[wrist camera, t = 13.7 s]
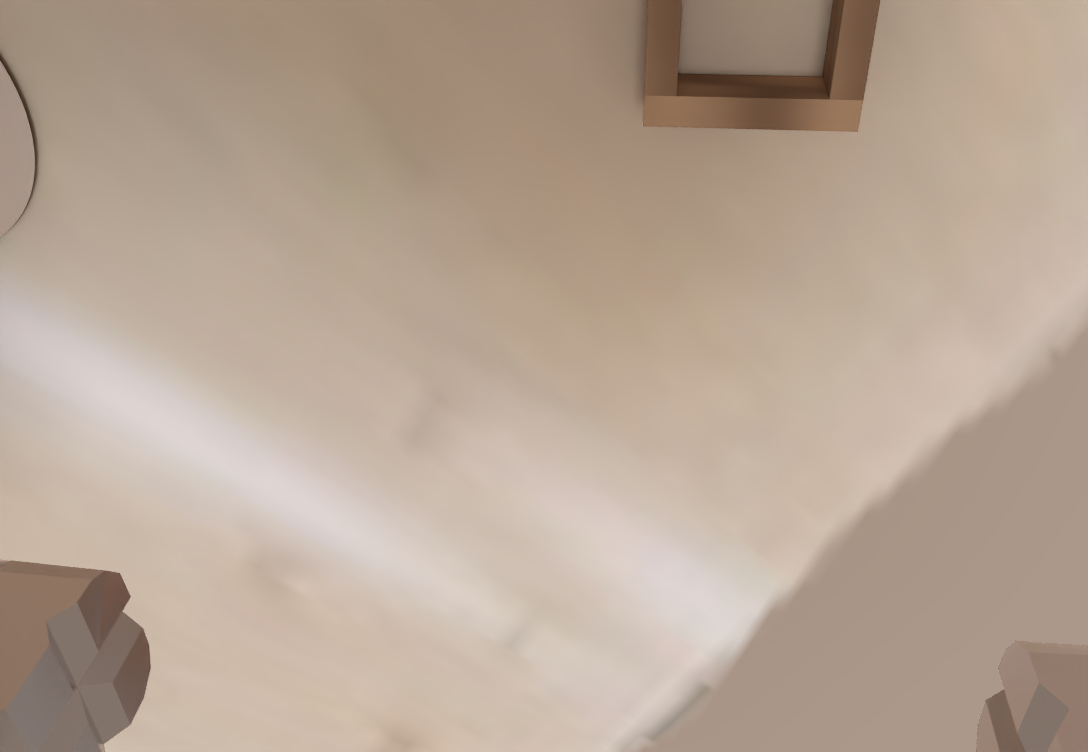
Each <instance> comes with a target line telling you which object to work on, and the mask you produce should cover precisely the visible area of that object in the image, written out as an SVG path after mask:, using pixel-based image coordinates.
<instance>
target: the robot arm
mask: <svg viewBox="0 0 1088 752" xmlns="http://www.w3.org/2000/svg"><path fill="white" fill-rule="evenodd" d="M34 172H35V154H34V145H33V138H32V133H31V129H30V125H29V122H28V118H27V115H26V112H25V109H24V107H23V104H22V101H21V99H20V97H19V94H18V92H17V90H16V88H15V86H14V84H13V82H12V80H11V78H10V76H9V75H8V73H7V71H6V69H5V68H4V66H3V64H2V63H1V61H0V237H1V236H2V235H3V234H5V233H6V232H7V231H8V230H9V229H10V228H11V227H12V226H13V225H14V224H15V223H16V221H17V220H18V219H19V217H20V216H21V214H22V213H23V211H24V209H25V207H26V205H27V203H28V200H29V197H30V194H31V191H32V187H33V181H34ZM130 597H131V596H130V594H129V592H128V590H127V588H126V586H125V583H124V581H123V579H122V577H121V575H120V573H116V572H111V571H104V570H95V569H86V568H76V567H67V566H58V565H48V564H39V563H29V562H20V561H7V560H0V752H105V748H104V743H106V742H107V741H109V740H110V739H111V738H113V737H114V736H115V735H117V734H118V733H120V732H121V731H122V730H124V729H125V728H126V727H128V726H129V725H130V724H131V722H132V720H133V718H134V716H135V714H136V712H137V710H138V708H139V706H140V704H141V702H142V700H143V698H144V694H145V690H146V686H147V681H148V677H149V672H150V668H151V666H150V651H149V644H148V641H147V638H146V636H145V633H144V630H143V628H142V627H141V626H140V625H138V624H137V623H136V622H135V621H133V620H132V619H131V618H130V617H128V616H127V615H126V614H125V613H123V612H122V611H123V609H124V607H125V606H126V604H127V602H128V601H129V599H130ZM998 669H999V673H1000V676H1001V680H1002V683H1003V686H1004V690H1002V691H1000V692H999V693H997V694H995V695H994V696H992V697H991V698H989V699H987V700H986V701H985V704H984V707H983V710H982V713H981V716H980V719H979V723H978V729H977V730H978V731H977V746H976V752H1088V646H1086V645H1072V644H1056V643H1042V642H1027V641H1014V642H1013V643H1012V644H1011V645H1010V646H1009V647H1008V648H1006V650H1005V652H1004V655H1003V657H1002V660H1001V662H1000V665H999V667H998Z"/></svg>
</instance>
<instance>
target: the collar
mask: <svg viewBox="0 0 1088 752" xmlns="http://www.w3.org/2000/svg"><path fill="white" fill-rule="evenodd" d="M879 5H880V0H833V7H832V14H831V21H830V28H829V35H828V41H827V48H826V55H825V62H824V69H823V76H822V77H811V76H760V75H710V74H678V61H679V44H680V27H681V10H682V0H648V13H647V39H646V64H645V90H644V115H643V126H656V127H695V128H734V129H773V130H812V131H852V132H858V127H859V121H860V116H861V110H862V104H863V98H864V92H865V86H866V81H867V75H868V69H869V63H870V57H871V51H872V45H873V40H874V34H875V28H876V22H877V16H878V10H879Z"/></svg>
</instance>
